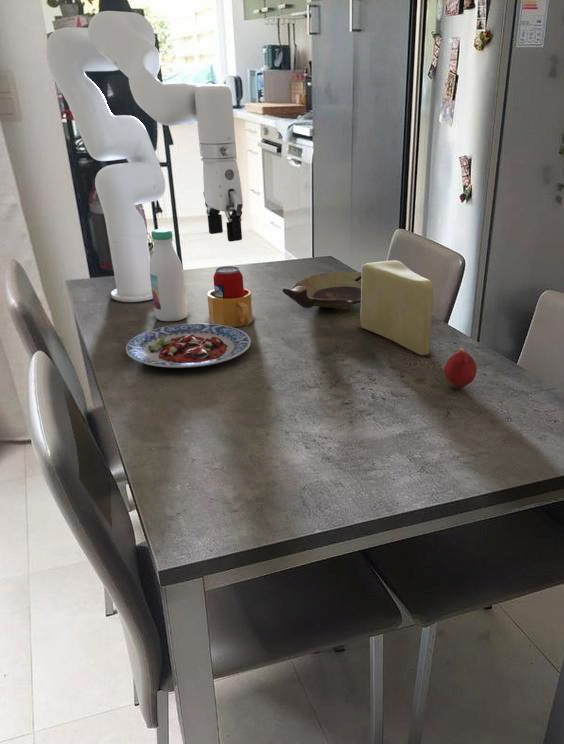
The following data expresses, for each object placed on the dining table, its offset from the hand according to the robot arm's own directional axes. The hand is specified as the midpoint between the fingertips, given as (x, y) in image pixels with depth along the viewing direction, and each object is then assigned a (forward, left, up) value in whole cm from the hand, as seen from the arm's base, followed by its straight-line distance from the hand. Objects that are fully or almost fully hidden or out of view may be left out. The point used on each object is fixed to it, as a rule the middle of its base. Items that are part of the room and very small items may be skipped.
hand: (225, 236), depth 155 cm
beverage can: (-1, 0, -20) cm, 19 cm away
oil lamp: (+1, +26, -19) cm, 33 cm away
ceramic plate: (+14, -17, -19) cm, 29 cm away
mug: (+1, 0, -19) cm, 19 cm away
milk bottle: (-11, -11, -20) cm, 25 cm away
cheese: (+32, +25, -19) cm, 46 cm away
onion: (+59, +18, -20) cm, 65 cm away
